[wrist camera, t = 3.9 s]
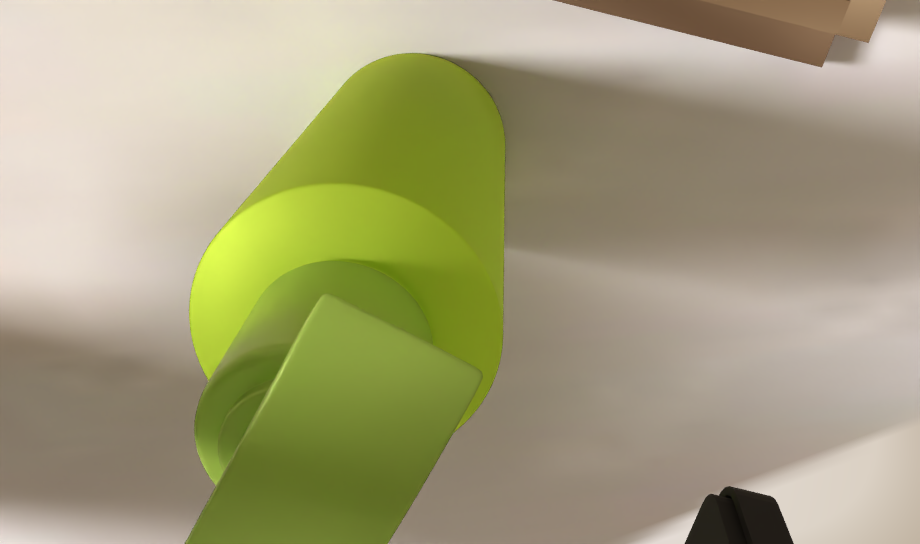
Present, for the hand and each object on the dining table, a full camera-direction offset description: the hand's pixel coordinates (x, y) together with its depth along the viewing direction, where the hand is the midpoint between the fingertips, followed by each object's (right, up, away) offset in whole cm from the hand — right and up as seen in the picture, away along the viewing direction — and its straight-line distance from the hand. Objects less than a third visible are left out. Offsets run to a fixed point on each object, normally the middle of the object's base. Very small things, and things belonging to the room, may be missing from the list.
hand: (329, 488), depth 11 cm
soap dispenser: (0, +7, +17) cm, 19 cm away
